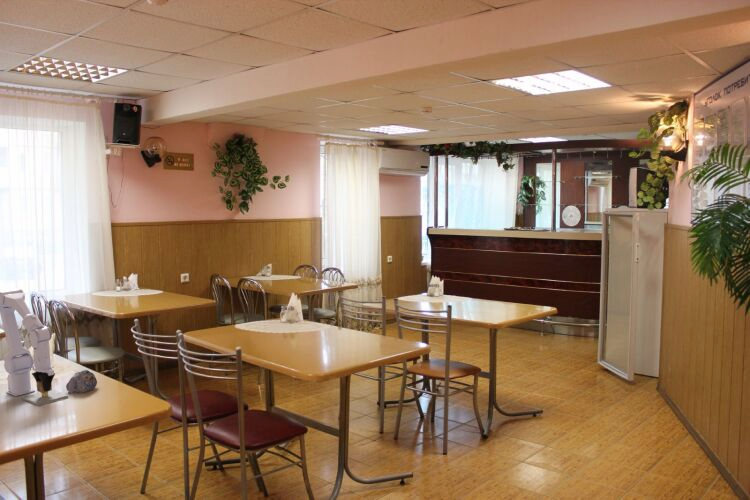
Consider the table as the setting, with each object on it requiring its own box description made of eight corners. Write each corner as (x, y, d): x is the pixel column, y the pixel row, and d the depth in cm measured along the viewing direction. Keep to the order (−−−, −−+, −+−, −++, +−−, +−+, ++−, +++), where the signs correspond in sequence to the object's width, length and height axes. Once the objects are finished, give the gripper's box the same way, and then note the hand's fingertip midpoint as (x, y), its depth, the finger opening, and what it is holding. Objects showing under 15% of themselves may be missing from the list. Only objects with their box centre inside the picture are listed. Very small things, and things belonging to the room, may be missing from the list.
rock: (101, 380, 271) (89, 363, 266) (90, 397, 263) (78, 381, 257) (80, 384, 274) (68, 367, 268) (69, 401, 265) (56, 385, 260)
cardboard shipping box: (37, 391, 255) (36, 381, 255) (47, 388, 258) (46, 378, 258) (41, 392, 253) (41, 383, 252) (52, 390, 256) (51, 380, 256)
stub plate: (22, 399, 255) (21, 392, 255) (51, 391, 265) (51, 384, 265) (37, 405, 247) (37, 398, 247) (68, 397, 256) (67, 390, 256)
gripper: (60, 357, 253) (62, 390, 254) (43, 352, 262) (46, 384, 263) (42, 361, 247) (45, 394, 249) (26, 356, 256) (28, 388, 257)
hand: (44, 389), depth 255 cm, fingers closed on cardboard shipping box, 4 cm apart
